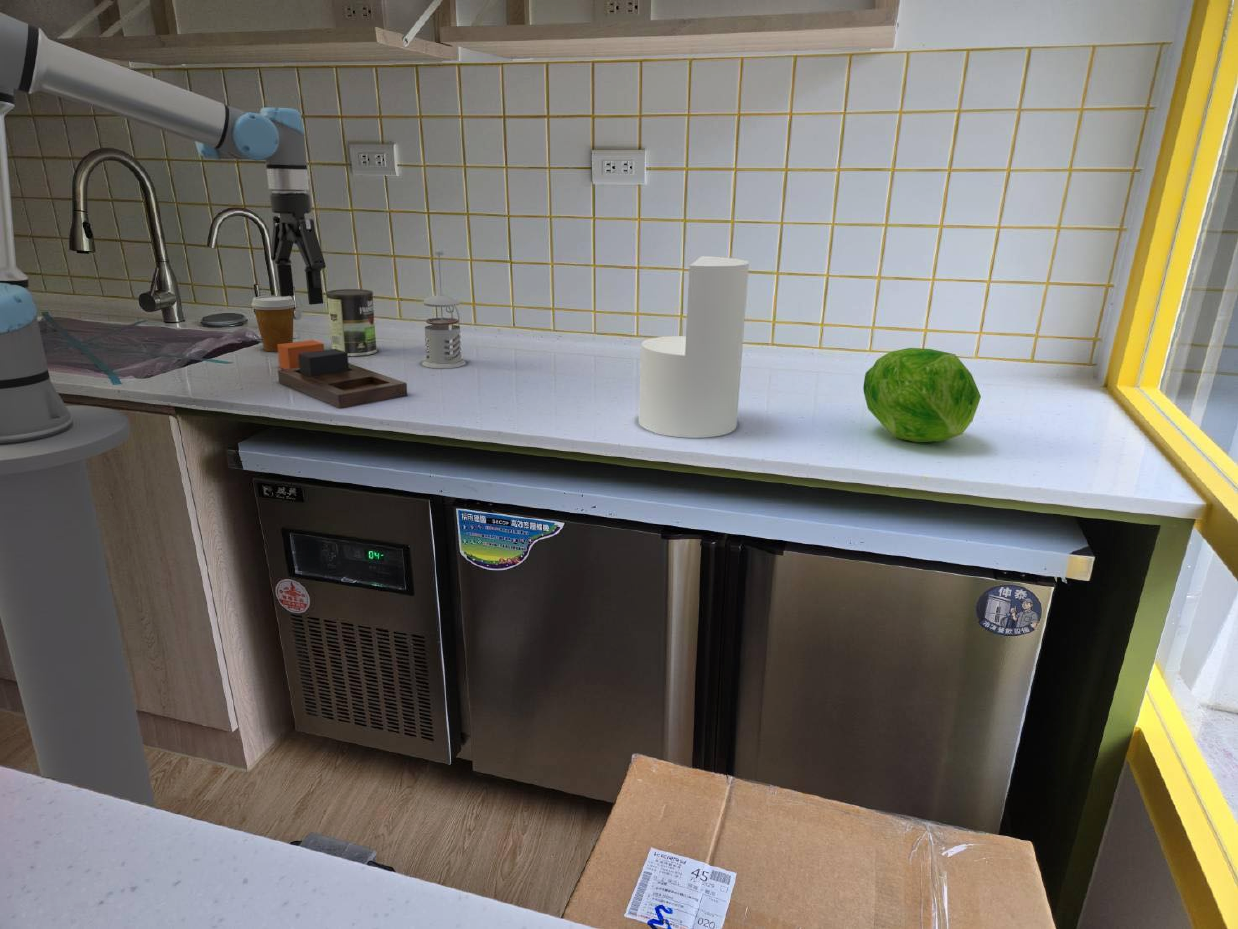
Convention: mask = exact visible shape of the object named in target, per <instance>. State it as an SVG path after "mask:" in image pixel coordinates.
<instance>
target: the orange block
mask: <svg viewBox="0 0 1238 929" xmlns="http://www.w3.org/2000/svg"><path fill="white" fill-rule="evenodd" d="M324 345H325V344H324V343H323V342H321V341H318V340H314V339H310V340H303V341H293V343H285V344H277V346H278V352H277V355H278V362H279V368H281V369H282V370H285V369H292V368H299V358H298V354H300V353H307V352H315V351H322V350H325V346H324Z"/></svg>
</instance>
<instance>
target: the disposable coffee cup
mask: <svg viewBox="0 0 1238 929" xmlns="http://www.w3.org/2000/svg"><path fill="white" fill-rule="evenodd" d="M250 305H251V306H252V309H253V310H254V314H255V319H256V322H257V326H258V329H259V334H260V338H261V341H262V346H263V349H264V351H266V352H271V353H272V352H273V353H274V352H276V353H278V346H277V344H285V343H293V342H294V314H295V312H294V311H295V310H294V308H295V305H296V302H295V301H294V298H293V296H284V297H281V296H280V295H263V296H261V295H260V296H256V297H253V298H252V303H251V304H250Z"/></svg>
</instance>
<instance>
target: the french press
mask: <svg viewBox="0 0 1238 929" xmlns="http://www.w3.org/2000/svg"><path fill="white" fill-rule="evenodd" d="M434 255H435V256H438V271H439V272H438V274H439V292H440V293H439V294H437V295H431V296H429V297H426V298H425V299H424V300H423V301H422V304H423V305H424V306H426V307H432V308H440V313H441V314H440V315H441V317H431V318H428V319H426V320H425V323H426V324H428V325H426V326H424V338H425V339H424V343H425V358H426V359H425V360H423V362H422V363H421V365H422V367H426V368H432V369H454V368H461V367H464V366H465V365H467V362H466V361H465V360H464V359H463V358H462V352H461V350H462V346H461V343H462V341H461V340H460V339H461V335H460V333H461V326H460V324H461V323H460V322H461V321H460V313H459V310H458V309H457V308H458V307H457V306H460V304H461V301H460V300H458V299H457V298H455V297H453V296H451V295H448V294H443V293H442V279H441V275H442V274H441V257H440V256H444V251H443V249H441V248H437V249H436V250H434ZM451 307H452V309H451ZM443 308H445V311H446V313H448V314H449V313H450V316H451V317H443ZM448 310H449V311H448ZM454 310H456V314H457V318H454V316H453V313H454ZM457 323H458V324H457ZM450 326H451V328H450ZM450 341H452V342H450Z"/></svg>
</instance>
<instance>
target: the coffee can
mask: <svg viewBox="0 0 1238 929" xmlns="http://www.w3.org/2000/svg"><path fill="white" fill-rule="evenodd" d="M373 295H374V291H372V290H370V289H359V288H346V289H345V288H343V289H341V288H340V289H333V290H327V291H326V292H325V296H326V299H327V312H328V321H329V322H328V323H329V332H330V345H331V349H338V350H341V351H344V352H347V354H348V357H363V356H370V355H373V354H377V352H378V350H377V349H378V348H377V338H376V323H375V310H374V309H375V308H374V296H373Z"/></svg>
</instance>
